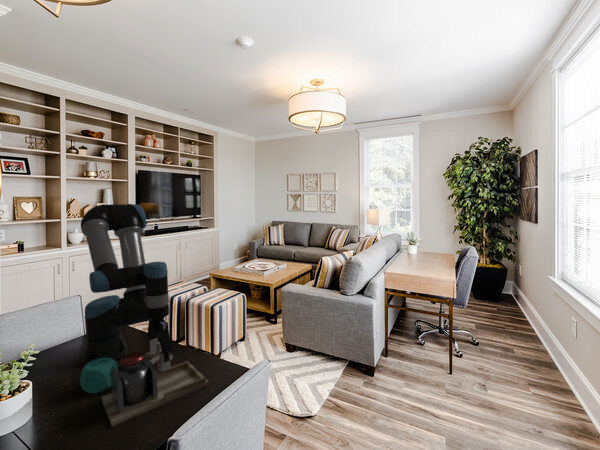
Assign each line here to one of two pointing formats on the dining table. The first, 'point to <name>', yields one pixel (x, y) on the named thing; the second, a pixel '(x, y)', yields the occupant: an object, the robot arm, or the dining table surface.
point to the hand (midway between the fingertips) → (160, 362)
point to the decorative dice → (97, 375)
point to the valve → (133, 381)
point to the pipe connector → (157, 357)
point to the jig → (160, 391)
